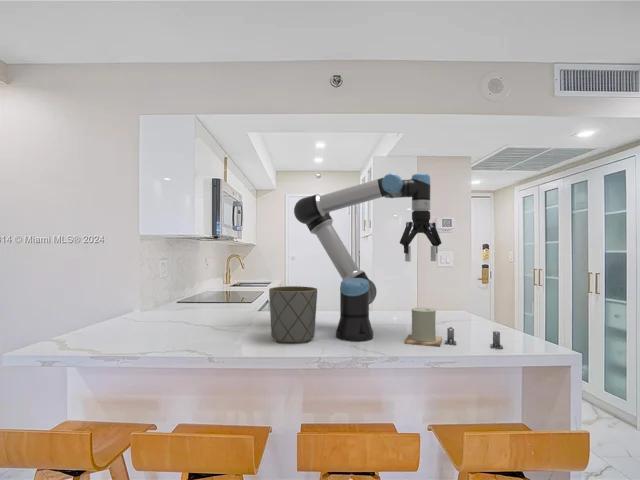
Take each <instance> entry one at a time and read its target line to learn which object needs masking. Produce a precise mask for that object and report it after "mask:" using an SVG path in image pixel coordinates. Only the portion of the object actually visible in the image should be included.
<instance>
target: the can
mask: <svg viewBox="0 0 640 480" xmlns="http://www.w3.org/2000/svg"><path fill="white" fill-rule="evenodd" d="M411 334H412V337H411V338H412V339H413V340H415V341H421V342H432V341H435V340H436V337H435V336H436V309H434V308H429V307H414V308H411Z"/></svg>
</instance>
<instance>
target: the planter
mask: <svg viewBox="0 0 640 480" xmlns="http://www.w3.org/2000/svg"><path fill="white" fill-rule="evenodd" d="M268 293H269V294H268V295H269V315H270V332H271V333H270V335H271V338H272V339H273V340H274V341H275V342H276V343H277V344H278V343H310V342H311V341H312V339H314V337H315V335H316V334H315V333H316V332H315V331H316V315H317V301H318V288H317V287H312V286H301V285H296V286H295V285H292V286H291V285H290V286H289V285H286V286H275V287H270V288H269V290H268Z"/></svg>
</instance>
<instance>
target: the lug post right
mask: <svg viewBox="0 0 640 480" xmlns="http://www.w3.org/2000/svg"><path fill="white" fill-rule="evenodd" d="M489 346H490V349H494V348H496V349H495V350H497V349H498V350H504V346H503V345H502V344H501V332H500V331H496V330H495V331H492V343H490V344H489Z"/></svg>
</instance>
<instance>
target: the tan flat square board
mask: <svg viewBox="0 0 640 480" xmlns="http://www.w3.org/2000/svg"><path fill="white" fill-rule="evenodd" d="M411 337H412V333H411V334H408V335H407V336H406V338H405V340H404V344H406V345H416V346H417V345H418V346H428V347H429V346H430V347H437V348H438V347H439V348H440V347H441V345H442V340H443V339H442V338H443V336H436V335H435V337H436V340H435V341H432V342H421V341H415V340H413V339H412V338H411Z"/></svg>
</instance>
